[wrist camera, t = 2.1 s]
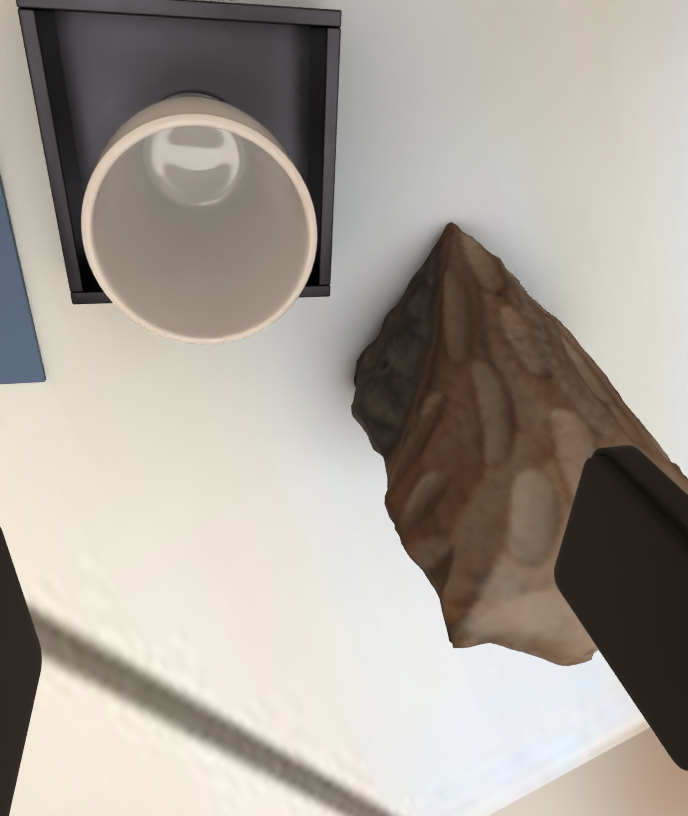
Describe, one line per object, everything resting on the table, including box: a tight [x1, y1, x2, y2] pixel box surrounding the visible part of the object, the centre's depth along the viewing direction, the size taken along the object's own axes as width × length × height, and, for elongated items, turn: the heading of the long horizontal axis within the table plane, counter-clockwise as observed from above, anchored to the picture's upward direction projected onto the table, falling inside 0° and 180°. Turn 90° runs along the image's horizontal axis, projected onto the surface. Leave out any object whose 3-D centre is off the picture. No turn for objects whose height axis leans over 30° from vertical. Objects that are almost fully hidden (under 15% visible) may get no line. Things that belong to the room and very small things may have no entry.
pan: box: [16, 0, 342, 304], centre depth 29 cm, size 12×12×4 cm
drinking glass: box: [81, 92, 317, 344], centre depth 24 cm, size 7×7×15 cm
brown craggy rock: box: [351, 223, 688, 666], centre depth 31 cm, size 13×13×20 cm
